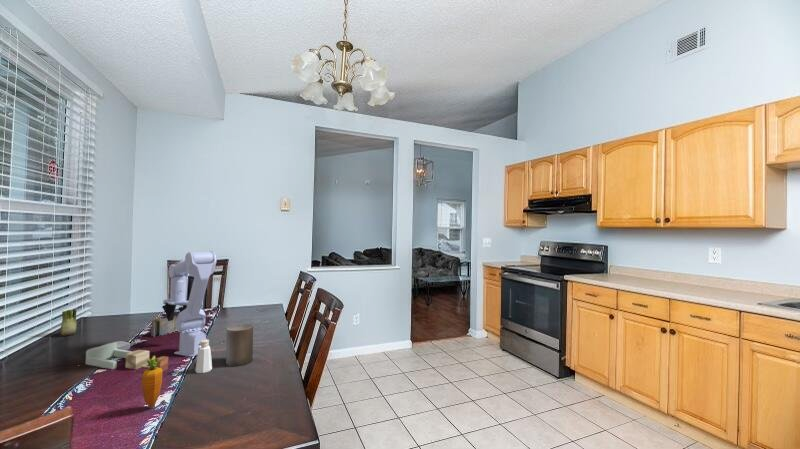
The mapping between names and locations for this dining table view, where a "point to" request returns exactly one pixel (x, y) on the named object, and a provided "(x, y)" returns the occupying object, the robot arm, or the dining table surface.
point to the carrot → (152, 382)
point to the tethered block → (143, 360)
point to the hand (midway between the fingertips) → (177, 321)
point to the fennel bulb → (68, 322)
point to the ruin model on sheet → (162, 326)
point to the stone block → (119, 345)
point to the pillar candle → (239, 344)
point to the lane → (105, 356)
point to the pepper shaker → (204, 357)
